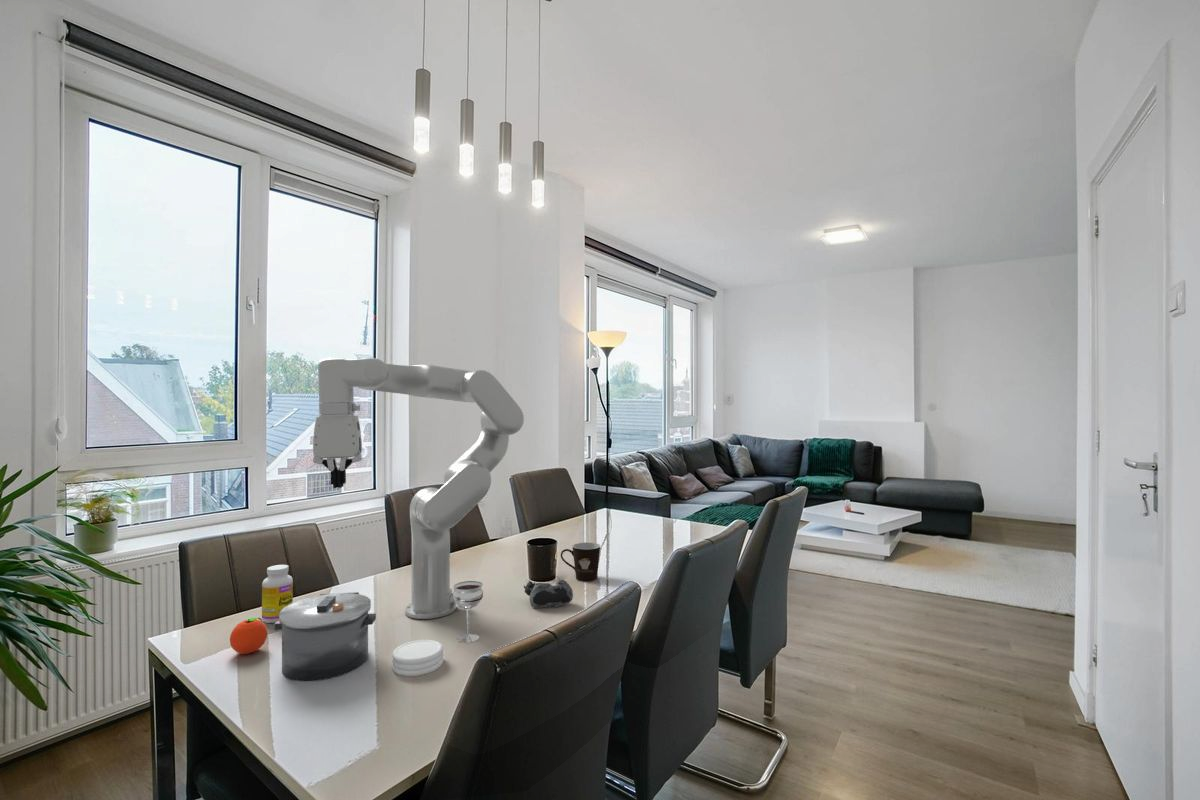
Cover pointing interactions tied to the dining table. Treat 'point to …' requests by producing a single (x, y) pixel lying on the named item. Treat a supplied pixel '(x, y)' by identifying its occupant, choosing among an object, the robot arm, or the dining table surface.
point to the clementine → (248, 636)
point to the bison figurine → (549, 594)
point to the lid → (325, 610)
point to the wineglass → (468, 603)
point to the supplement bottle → (276, 592)
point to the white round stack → (417, 657)
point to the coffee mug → (585, 560)
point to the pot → (324, 649)
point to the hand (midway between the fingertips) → (338, 486)
